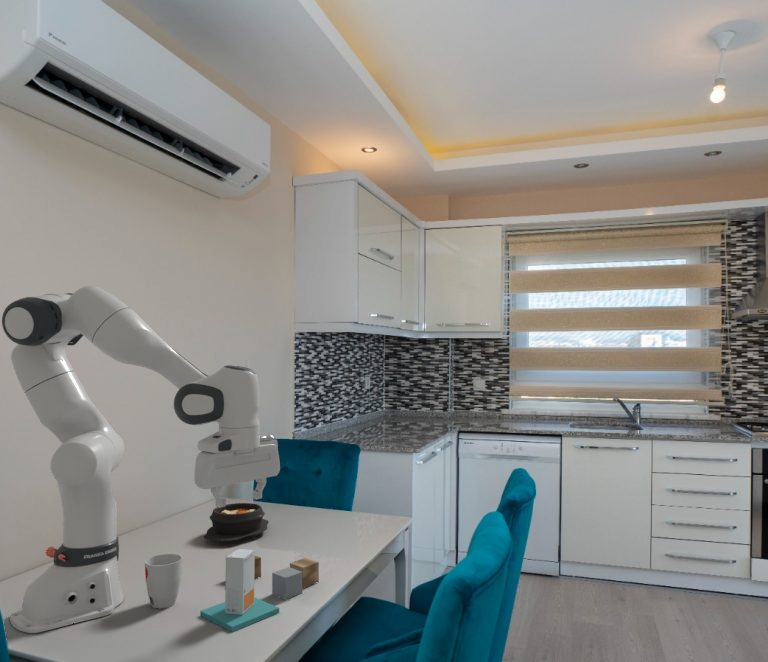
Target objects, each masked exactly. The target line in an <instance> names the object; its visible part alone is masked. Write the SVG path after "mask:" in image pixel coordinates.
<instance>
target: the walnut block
mask: <svg viewBox="0 0 768 662" xmlns="http://www.w3.org/2000/svg"><path fill="white" fill-rule="evenodd" d="M258 577H260V578H262V557H261V556H257V555H255V558H254V580H256V579H255V578H257V579H259V578H258Z"/></svg>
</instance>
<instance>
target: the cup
mask: <svg viewBox="0 0 768 662" xmlns="http://www.w3.org/2000/svg"><path fill="white" fill-rule="evenodd" d="M183 558H184V557H183V556H182V555H181V554H178V553H162V554H157V555H153V556H151V557H148V558H146V559H145V560H144V573H145V574H144V575H145V584H146V591H147V596H148V599H149V602H150V605H151V607H152V608H154V609H156V608H159V609H161V608H162V609H166V608H171V607H172V605H173V606H174V605H175V604H176V602H177V598H178V594H179V591H180V586H181V582H182V572H183V571H182V570H183ZM162 609H161V610H162Z"/></svg>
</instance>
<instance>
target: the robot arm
mask: <svg viewBox="0 0 768 662" xmlns="http://www.w3.org/2000/svg"><path fill="white" fill-rule="evenodd" d="M1 325H2V329H3V332H4V333H5V335H6V337H7V338H8V339H10V341H12V342H13V343H15V344H16V346H14V348H13V349H12V351H11V355H10V358H11V359H10V360H11V362H12V366H13V369H14V373H15V375H16V377H17V380H18V383H19V384H20V386H21V389H22V390H23V393H24V395H25V396H26V398H27V399H28V402H29V403H30V406H31V407H32V409H33V410H34V412H35V414H36V416H37V419H38V420H39V422H40V423H41V424H42V426H44V428H47V429H48V430H49V431H50V432H51V433H52V434H53V435H54V437H56V438H57V439H58V440H59V442H60V443H62V444H61V445H60V446H59V447H58V448H57V449H56V451H55V452H54V453H53V455H52V457H51V460H50V471H51V474H52V476H53V478H54V479H55V480H56V481H57V485H58V486H57V487H58V491H59V495H60V501H61V506H62V516H63V517H62V522H63V523H62V526H63V527H62V535H63V536H62V539H63V540H62V544H61V545H60V546H59V547H58V548H55V547H54V546H50V547H47V549H46V550H45V552H44V553H45V555H46V556H47V557H49V558H52V559H53V563H52V565H51V566H49V567H48V569H46V570H45V571H44V572H43V573H41V574H40V575H39V576H38V577H37V578H36V579H35V580H34V581H33V582H31V584H29V585H28V586H27V588H26V589H25V591H24V594H23V595H24V596H23V600H22V607H21V608H18V609H15V610H13V611H12V612H11V614H10V618H9V623H10V625H12V627H13V628H15V630H18V631H21V632H22V633H29V634H37V633H42V632H46V631H50V630H54V629H59V628H62V627H66V626H69V625H73V623H74V624H77V623H83V622H85V621H90V620H93V619H97V618H98V619H99V618H100V617H106V616H109V615H111V614H112V613H113V611H114V610H115V608H116V607H118V606H119V605H120V604H122V603H123V601H124V598H125V595H124V592H123V590H122V585H121V582H120V576H119V568H118V567H119V564H118V561H119V555H120V544H119V537H118V536H117V531H118V528H117V526H118V524H117V521H118V520H117V518H118V517H117V515H118V513H117V512H118V511H117V509H118V505H117V501H116V499H115V497H114V493H113V488H112V483H111V472H112V471H114V470H115V469H116V468H118V466H119V465H120V464H121V462H122V460H123V459H124V455H125V453H126V452H125V451H126V445H125V441H124V440H123V438H122V436H121V435H119V434H118V433H117V432H116V431H115V430H114V429H113V427H112V426H111V425H110V423H109V422H108V420H107V419H106V418H105V416H104V415H103V414H102V413H101V411H99V409H98V408H97V406H96V405H95V404H94V403H93V401H92V400H91V398H90V396H89V395H88V393H87V390H86V389H85V387H84V386H83V384H82V382H81V381H80V379H79V377H78V375H77V373H76V371H75V370H74V368H73V366H72V364H71V363H70V361H69V359H68V356H67V354H66V351H67V346H75V345H76V344H77V343H78V342H79V341H81V339H82V338H83V337H85V338H86V339H87V340H88V341H89V342H90V343H91V344H92V345H94V347H96V349H99V351H101V352H102V353H103V354H105V355H106V356H108V357H110V358H111V359H113V360H115V361H116V362H119V363H121V364H127V365H132V366H136V367H141V368H145V369H148V370H151V371H153V372H155V373H157V374H159V375H161V376H163V378H164V379H165V380H167V381H168V382H169V383H171V384H172V385H173V386H175V388H177V389H178V391H177V392H176V393H175V396H174V399H173V409H174V412H175V415H176V416H177V418H178V419H179V420H180V421H181V422H183V423H184V424H187V425H190V426H202V425H207V424H209V423H215V422H217V423H218V431H216V432H214V433H212V434H210V435H208V436H206V437H204V438H203V439H200V440H199V441H198V442H197V450H198V451H200V452H199V453H198V454H197V456H196V459H195V464H194V465H195V466H194V484H195V485H196V487H197V488H199V489H203V490H209V489H210V492H211V494H212V496H213V497H214V499H215V508H217V507H218V508H221V507H225V506H226V505H227V498H225V497H223V495H222V494H221V492H223V487H225V486H230V485H235V484H240V483H246V482H251V481H255V482H256V483H257V484H256V487H255V489H254V490H251V493H252V495H251V498H252V499H253V500H259V499H263V491H264V488H265V486H266V484H267V478H271V477H277V476H278V474H279V473H280V470H281V466H280V465H281V463H280V455H279V450H278V449H279V448H278V447H279V444H278V439H276V437H274V436H273V435H265V436H262V435H261V422H260V419H259V411H260V407H261V393H260V384H259V378H258V375H257V373H256V372H255V370H253V369H252V368H248V367H245V366H240V365H231V364H230V365H224V366H222V367H221V368H220V369H219V370H217V371H216V372H213V373H212V374H210V375H208V374H206V373H204V372H202V371H201V370H200V369H199V368H197V366H196V365H193V364H192V363H191V362H190V361H188V360H187V359H186V358H185V357H183V355H181V354H180V353H179V352H177V350H175V349H174V348H172V347H171V346H170V345H169V344H168V343H167V342H166V341H165V340H164V339H162V337H161V336H159V334H157V333H156V332H155V331H154V329H153V328H152V327H151V326H149V324H148V323H147V322H146V321H145V320H144V319H143V318H141V317H140V315H139V314H137V313H136V312H135V311H134V310H133V309H132V308H130V306H128V305H127V304H126V303H124V302H123V300H121V299H120V298H118V297H116V296H115V295H113V294H112V293H110V292H108V291H106V290H105V289H103V288H101V287H99V286H98V285H97V286H96V285H86V286H83V287H80V288H79V289H77V290H75V292H72V293H71V292H70V293H69V292H67V293H46V294H43V295H38V296H27V297H22V298H19V299H17V300H14V301H12V302H10V303H9V304H8V305H7V306H6V307H5V309H4V311H3V314H2V317H1ZM260 435H261V436H260Z"/></svg>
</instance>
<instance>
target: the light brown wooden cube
mask: <svg viewBox="0 0 768 662" xmlns="http://www.w3.org/2000/svg"><path fill="white" fill-rule="evenodd" d="M319 563H320V562H319V561H316V560H314V559H310V558H307V557H304V558H301V559H298V560H294V561H291V562H290V563H289V567H290V568H293V569H296V570H298V571H301V572H302V589H305V588H308V587H310V586H309V585H311V586H313V585H315V584H314V583H316V582H318V583H319V581H320V579H319V572H320V571H319V570H320V568H319V567H320V565H319ZM312 584H313V585H312ZM316 584H317V583H316ZM307 586H308V587H307ZM304 587H305V588H304Z"/></svg>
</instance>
